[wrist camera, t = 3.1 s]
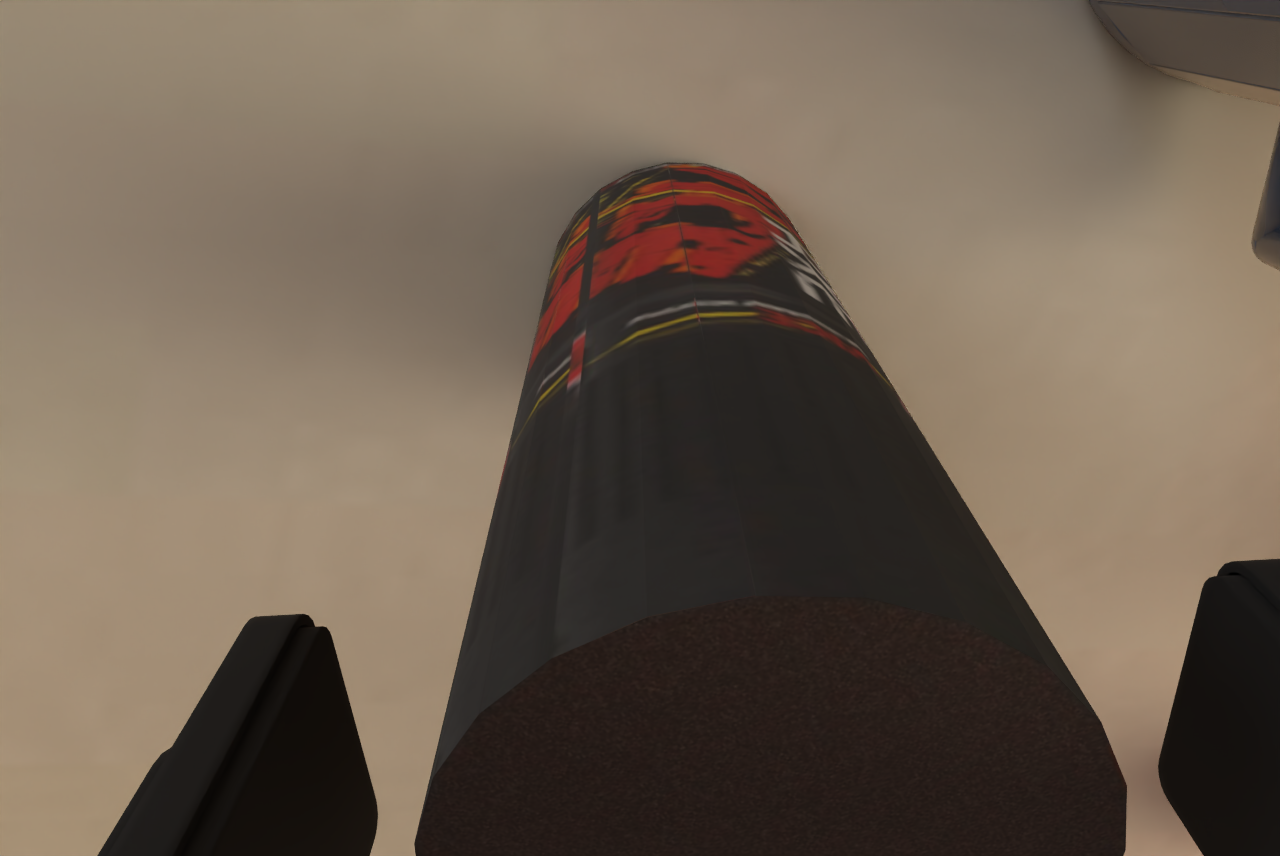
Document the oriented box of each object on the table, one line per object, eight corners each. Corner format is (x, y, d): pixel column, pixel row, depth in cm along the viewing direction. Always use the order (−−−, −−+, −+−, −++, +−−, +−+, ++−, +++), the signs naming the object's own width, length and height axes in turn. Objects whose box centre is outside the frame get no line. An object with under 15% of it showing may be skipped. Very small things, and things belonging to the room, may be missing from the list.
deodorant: (855, 229, 20) (1287, 744, 7) (733, 444, 23) (886, 1127, 10) (611, 115, 19) (579, 474, 6) (510, 355, 22) (328, 992, 8)
